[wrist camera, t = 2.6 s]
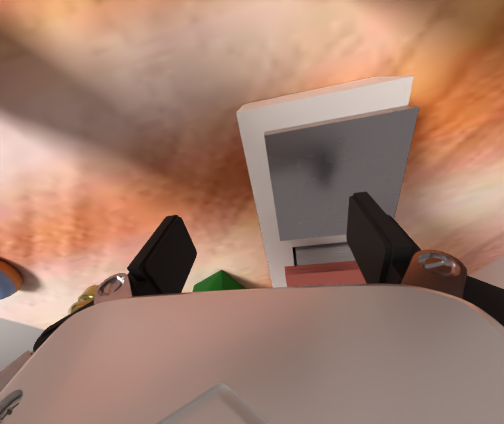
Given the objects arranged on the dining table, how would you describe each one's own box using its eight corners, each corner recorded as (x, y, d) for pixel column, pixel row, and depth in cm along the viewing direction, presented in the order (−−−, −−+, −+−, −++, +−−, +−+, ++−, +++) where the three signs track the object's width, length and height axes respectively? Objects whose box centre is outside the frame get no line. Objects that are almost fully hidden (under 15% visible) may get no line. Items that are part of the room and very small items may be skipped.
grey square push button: (264, 117, 17) (263, 135, 12) (366, 97, 16) (419, 107, 10) (276, 199, 21) (280, 241, 16) (357, 188, 20) (391, 229, 15)
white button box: (243, 104, 20) (235, 112, 15) (373, 76, 18) (413, 76, 13) (273, 260, 32) (274, 294, 27) (354, 252, 30) (371, 287, 25)
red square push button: (280, 229, 23) (285, 275, 18) (354, 221, 22) (383, 267, 17) (287, 275, 28) (292, 323, 22) (349, 270, 26) (370, 320, 21)
